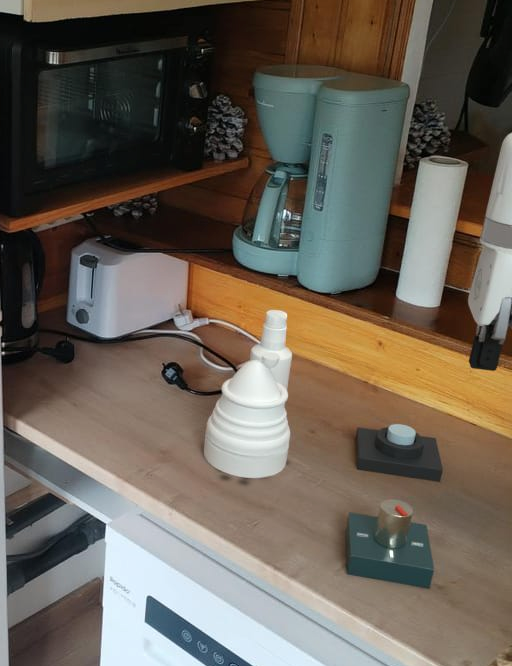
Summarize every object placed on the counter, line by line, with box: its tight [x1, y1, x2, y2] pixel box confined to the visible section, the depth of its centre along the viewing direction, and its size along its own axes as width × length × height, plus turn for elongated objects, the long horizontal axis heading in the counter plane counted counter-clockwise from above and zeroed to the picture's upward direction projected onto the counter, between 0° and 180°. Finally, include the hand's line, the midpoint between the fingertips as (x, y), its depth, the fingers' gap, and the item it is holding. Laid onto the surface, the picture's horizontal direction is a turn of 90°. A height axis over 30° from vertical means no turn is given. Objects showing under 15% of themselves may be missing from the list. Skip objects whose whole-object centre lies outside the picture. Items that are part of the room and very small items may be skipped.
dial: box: [374, 498, 414, 548], centre depth 118 cm, size 4×4×5 cm
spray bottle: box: [249, 309, 293, 408], centre depth 154 cm, size 7×7×18 cm
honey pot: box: [203, 352, 292, 479], centre depth 139 cm, size 13×13×18 cm
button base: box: [354, 426, 444, 483], centre depth 142 cm, size 12×10×4 cm
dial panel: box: [345, 512, 435, 589], centre depth 119 cm, size 10×10×3 cm
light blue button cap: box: [387, 423, 417, 445], centre depth 141 cm, size 4×4×2 cm
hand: (482, 366), depth 120 cm, fingers closed
